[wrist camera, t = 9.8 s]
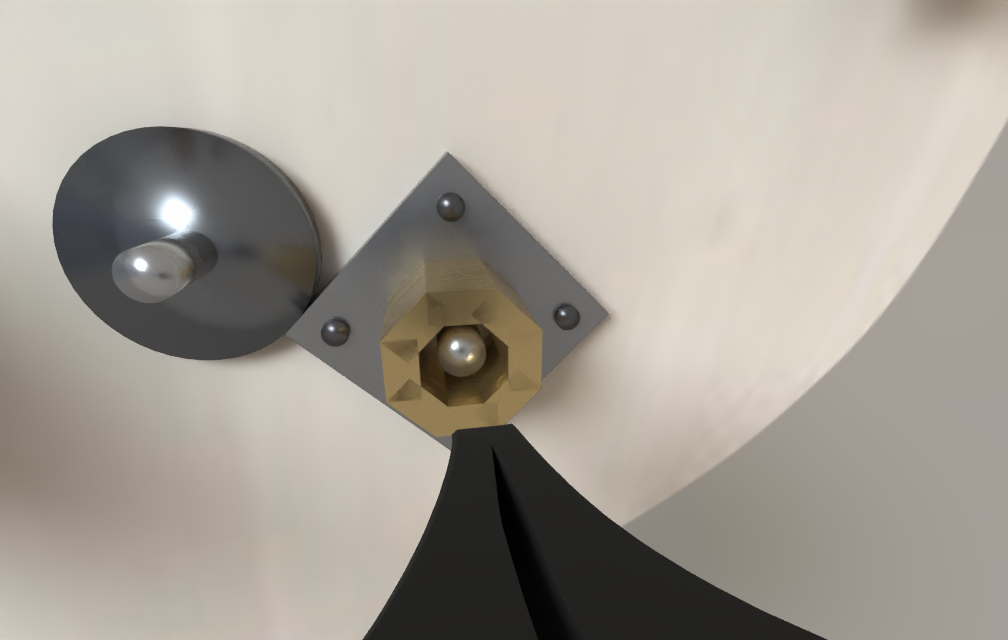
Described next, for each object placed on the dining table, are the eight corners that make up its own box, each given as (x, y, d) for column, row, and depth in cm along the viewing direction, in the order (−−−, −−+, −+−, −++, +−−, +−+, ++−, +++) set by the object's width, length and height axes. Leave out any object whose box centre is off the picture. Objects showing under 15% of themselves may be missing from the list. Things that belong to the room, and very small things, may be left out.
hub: (459, 444, 22) (468, 506, 18) (291, 325, 18) (259, 370, 15) (600, 306, 20) (640, 341, 17) (446, 151, 17) (454, 153, 13)
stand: (236, 386, 19) (192, 445, 15) (23, 254, 16) (-94, 286, 12) (366, 241, 18) (352, 266, 14) (163, 71, 15) (79, 46, 11)
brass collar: (458, 400, 20) (468, 459, 16) (362, 328, 18) (347, 376, 14) (542, 316, 19) (572, 357, 15) (450, 232, 17) (460, 255, 14)
